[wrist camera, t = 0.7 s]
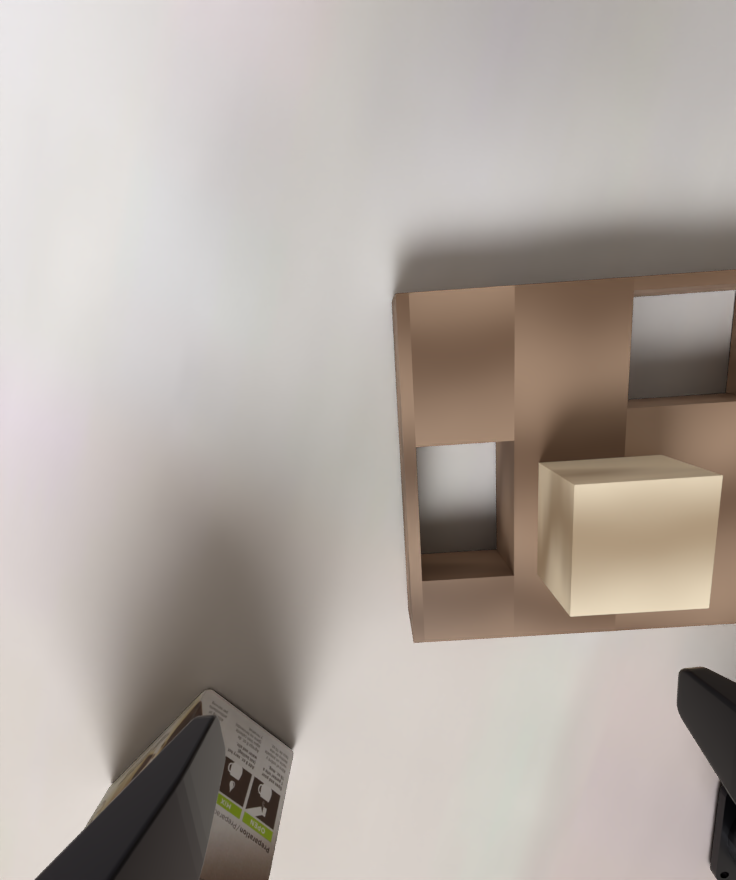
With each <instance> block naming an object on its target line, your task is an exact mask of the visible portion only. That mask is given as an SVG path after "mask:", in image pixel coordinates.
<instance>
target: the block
mask: <svg viewBox="0 0 736 880" xmlns="http://www.w3.org/2000/svg"><path fill="white" fill-rule="evenodd" d="M722 479H723V475H720V474H717V473H714V472H711V471H708V470H705V469H702V468H699V467H696V466H693V465H690V464H687V463H684V462H681V461H679V460H676V459H673V458H670V457H667V456H664V455H650V456H635V457H620V458H604V459H589V460H574V461H558V462H543V463H539V481H538V552H537V575H538V576H539V577H540V578H541V580H542V581H543V582H544V584H545V585H546V586H547V587H548V589H549V590H550V591H551V593H552V594H553V595H554V596H555V598H556V599H557V600H558V602H559V603H560V604H561V605H562V607H563V608H564V609H565V611H566V612H567V613H568V614H569V616H570V617H573V616H590V615H606V614H623V613H639V612H655V611H672V610H688V609H705V608H709V603H710V593H711V584H712V574H713V565H714V555H715V546H716V536H717V527H718V517H719V508H720V498H721V489H722Z"/></svg>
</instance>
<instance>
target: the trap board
mask: <svg viewBox="0 0 736 880" xmlns="http://www.w3.org/2000/svg"><path fill="white" fill-rule="evenodd" d="M725 290H736V269H735V270H721V271H707V272H693V273H679V274H665V275H650V276H636V277H622V278H608V279H594V280H580V281H566V282H552V283H537V284H523V285H509V286H495V287H481V288H467V289H453V290H439V291H424V292H410V293H396V294H395V296H394V298H393V301H392V314H393V333H394V351H395V370H396V389H397V407H398V426H399V444H400V463H401V482H402V500H403V519H404V537H405V556H406V574H407V593H408V610H409V616H410V623H411V629H412V635H413V641H414V643H419V642H436V641H452V640H469V639H485V638H502V637H518V636H535V635H551V634H568V633H585V632H601V631H618V630H634V629H651V628H667V627H684V626H700V625H717V624H734V623H736V298H735V307H734V317H733V327H732V337H731V347H730V356H729V366H728V376H727V386H726V393H719V394H704V395H689V396H674V397H659V398H645V399H630V400H628V386H629V368H630V350H631V332H632V315H633V297H639V296H654V295H668V294H682V293H696V292H711V291H725ZM485 442H496V537H497V549H495V550H479V551H464V552H448V553H432V554H421V547H420V526H419V504H418V482H417V460H416V447H425V446H440V445H455V444H470V443H485ZM650 455H664V456H667V457H670V458H673V459H676V460H679V461H681V462H684V463H687V464H690V465H693V466H696V467H699V468H702V469H705V470H708V471H711V472H714V473H717V474H720V475H723V479H722V489H721V498H720V508H719V517H718V527H717V536H716V546H715V555H714V565H713V574H712V584H711V593H710V603H709V608H705V609H688V610H672V611H655V612H639V613H623V614H606V615H590V616H573V617H570V616H569V614H568V613H567V612H566V611H565V609H564V608H563V607H562V605H561V604H560V603H559V602H558V600H557V599H556V598H555V596H554V595H553V594H552V593H551V591H550V590H549V589H548V587H547V586H546V585H545V584H544V582H543V581H542V580H541V578H540V577H539V576H538V575H537V552H538V481H539V463H543V462H558V461H574V460H589V459H604V458H620V457H635V456H650Z"/></svg>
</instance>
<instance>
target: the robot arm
mask: <svg viewBox="0 0 736 880" xmlns="http://www.w3.org/2000/svg"><path fill="white" fill-rule="evenodd" d="M677 708H678V711H679V714H680V716H681V718H682V720H683V722H684V723H685V725H686V726H687V728H688V730H689V731H690V733H691V734H692V736H693V738H694V739H695V741H696V742H697V744H698V746H699V747H700V749H701V750H702V752H703V754H704V755H705V757H706V758H707V760H708V762H709V763H710V765H711V766H712V768H713V770H714V771H715V773H716V774H717V776H718V778H719V779H720V781H721V782H722V784H723V786H722V787H721V788H720V791H719V799H718V808H717V816H716V824H715V832H714V840H713V848H712V857H711V865H710V869H711V871H712V873H713V874H714V876H715V877H716V878H717V880H736V683H735V682H733V681H731V680H729V679H727V678H725V677H723V676H721V675H719V674H717V673H715V672H713V671H711V670H709V669H707V668H704V667H693V668H684V669H681V671H680V672H679V675H678V690H677ZM225 757H226V750H225V744H224V739H223V734H222V730H221V725H220V720H219V718H218V716H217V715H214V714H211V715H201V716H197V717H195V718H193V719H192V720H191V721H190V722H189V723H188V724H187V725H186V726H185V727H184V728H183V729H182V730H181V731H180V732H179V733H178V734H177V735H176V736H175V737H174V739H173V740H172V741H171V742H170V743H169V744H168V745H167V746H166V747H165V748H164V749H163V750H162V751H161V752H160V753H159V754H158V755H157V756H156V757H155V758H154V759H153V760H152V761H151V762H150V763H149V764H148V765H147V766H146V767H145V768H144V769H143V770H142V771H141V772H140V773H139V774H138V775H137V776H136V777H135V778H134V779H133V780H132V781H131V782H130V783H129V784H128V785H127V786H126V787H125V788H124V789H123V790H122V791H121V792H120V793H119V794H118V795H117V796H116V797H115V798H114V799H113V800H112V801H111V802H110V803H109V805H108V806H107V807H106V808H105V809H104V810H103V811H102V812H101V813H100V814H99V815H98V816H97V817H96V818H95V819H94V820H93V821H92V822H91V823H90V824H89V825H88V826H87V827H86V828H85V829H84V830H83V831H82V832H81V833H80V834H79V835H78V836H77V837H76V838H75V839H74V840H73V841H72V842H71V843H70V844H69V845H68V846H67V847H66V848H65V849H64V850H63V851H62V852H61V853H60V854H59V855H58V856H57V857H56V858H55V859H54V860H53V861H52V862H51V863H50V864H49V865H48V866H47V867H46V868H45V869H44V870H43V872H42V873H41V874H40V875H39V876H38V877H37V878H36V879H35V880H199V878H200V874H201V871H202V867H203V864H204V859H205V855H206V851H207V846H208V841H209V837H210V832H211V827H212V822H213V817H214V812H215V808H216V803H217V798H218V793H219V788H220V784H221V779H222V774H223V769H224V764H225Z"/></svg>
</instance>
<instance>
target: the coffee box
mask: <svg viewBox="0 0 736 880" xmlns="http://www.w3.org/2000/svg"><path fill="white" fill-rule="evenodd" d="M211 714H214V715H217V716H218V718H219V720H220V725H221V730H222V734H223V739H224V744H225V750H226V757H225V764H224V769H223V774H222V779H221V784H220V788H219V793H218V798H217V803H216V808H215V812H214V817H213V822H212V827H211V832H210V837H209V841H208V846H207V851H206V855H205V859H204V864H203V867H202V871H201V874H200V878H199V880H268V879H269V875H270V870H271V865H272V860H273V855H274V850H275V844H276V841H277V835H278V829H279V824H280V819H281V814H282V809H283V804H284V799H285V794H286V789H287V784H288V779H289V774H290V769H291V764H292V760H293V751H292V750H291V749H290V748H289V747H287V746H286V745H285V744H283V743H282V742H281V741H280V740H278V739H277V738H276V737H274V736H273V735H271V734H270V733H269V732H267V731H266V730H265V729H264V728H262V727H261V726H260V725H258V724H257V723H256V722H254V721H253V720H252V719H250V718H249V717H248V716H246V715H245V714H244V713H243V712H241V711H240V710H239V709H237V708H236V707H235V706H233V705H232V704H231V703H229V702H228V701H227V700H225V699H224V698H223V697H221V696H220V695H219V694H217V693H216V692H215V691H213V690H211V689H208V690H204V691H203V692H202V693H201V694H200V695H199V696H198V697H197V698H196V699H195V700H194V701H193V702H192V703H191V704H190V705H189V706H188V707H187V708H186V709H185V710H184V711H183V712H182V713H181V714H180V715H179V717H178V718H177V719H176V720H175V721H174V722H173V723H172V724H171V725H170V726H169V727H168V728H167V729H166V730H165V731H164V732H163V733H162V734H161V735H160V736H159V737H158V738H157V739H156V740H155V741H154V742H153V743H152V744H151V745H150V746H149V747H148V748H147V749H146V750H145V751H144V752H143V753H142V754H141V755H140V756H139V757H138V758H137V759H136V760H135V761H134V762H133V763H132V764H131V766H130V767H129V768H128V769H127V770H126V771H125V772H124V773H123V774H122V775H121V776H120V777H119V778H118V779H117V780H116V781H115V782H114V783H113V784H112V785H111V786H110V787H109V789H108V791H107V792H106V794H105V796H104V797H103V799H102V800H101V802H100V804H99V805H98V807H97V809H96V810H95V812H94V814H93V815H92V817H91V819H90V820H89V822H88V823H87V825H86V827H87V826H88V825H89V824H90V823H91V822H92V821H93V820H94V819H95V818H96V817H97V816H98V815H99V814H100V813H101V812H102V811H103V810H104V809H105V808H106V807H107V806H108V805H109V803H110V802H111V801H112V800H113V799H114V798H115V797H116V796H117V795H118V794H119V793H120V792H121V791H122V790H123V789H124V788H125V787H126V786H127V785H128V784H129V783H130V782H131V781H132V780H133V779H134V778H135V777H136V776H137V775H138V774H139V773H140V772H141V771H142V770H143V769H144V768H145V767H146V766H147V765H148V764H149V763H150V762H151V761H152V760H153V759H154V758H155V757H156V756H157V755H158V754H159V753H160V752H161V751H162V750H163V749H164V748H165V747H166V746H167V745H168V744H169V743H170V742H171V741H172V740H173V739H174V737H175V736H176V735H177V734H178V733H179V732H180V731H181V730H182V729H183V728H184V727H185V726H186V725H187V724H188V723H189V722H190V721H191V720H192V719H193V718H195V717H197V716H201V715H211ZM86 827H85V828H86ZM85 828H84V829H85Z"/></svg>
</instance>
